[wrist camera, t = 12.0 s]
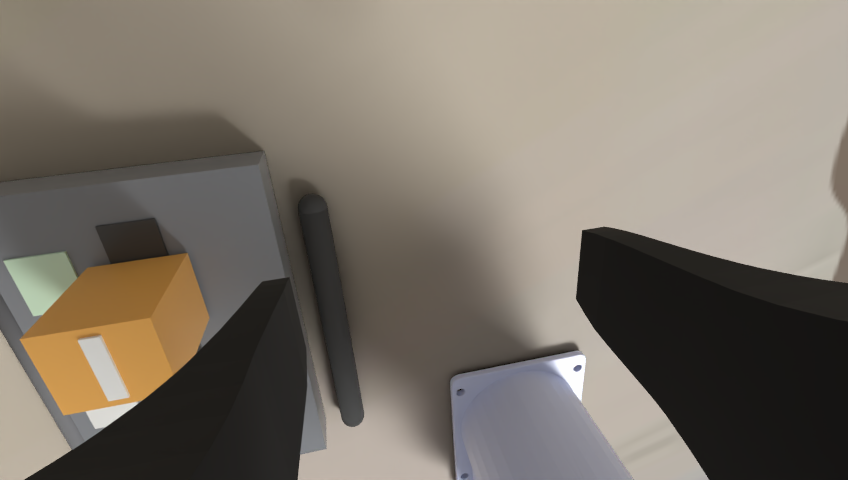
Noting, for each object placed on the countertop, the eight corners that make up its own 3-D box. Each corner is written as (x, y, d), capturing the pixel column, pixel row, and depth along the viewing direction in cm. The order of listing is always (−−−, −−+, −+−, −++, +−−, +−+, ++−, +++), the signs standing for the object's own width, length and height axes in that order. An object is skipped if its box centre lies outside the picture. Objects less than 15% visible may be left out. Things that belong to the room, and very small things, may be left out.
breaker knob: (209, 317, 19) (180, 395, 15) (117, 333, 18) (62, 417, 14) (187, 252, 17) (148, 319, 14) (87, 267, 17) (17, 341, 13)
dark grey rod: (364, 412, 26) (366, 429, 24) (342, 416, 25) (343, 433, 24) (324, 188, 20) (325, 197, 19) (296, 191, 19) (294, 201, 18)
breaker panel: (325, 418, 25) (326, 450, 23) (130, 458, 24) (114, 496, 22) (264, 150, 18) (257, 165, 17) (-13, 183, 17) (-54, 203, 15)
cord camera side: (123, 462, 24) (113, 482, 23) (97, 467, 23) (87, 488, 22) (0, 231, 18) (-21, 244, 17) (-35, 236, 18) (-58, 249, 17)
